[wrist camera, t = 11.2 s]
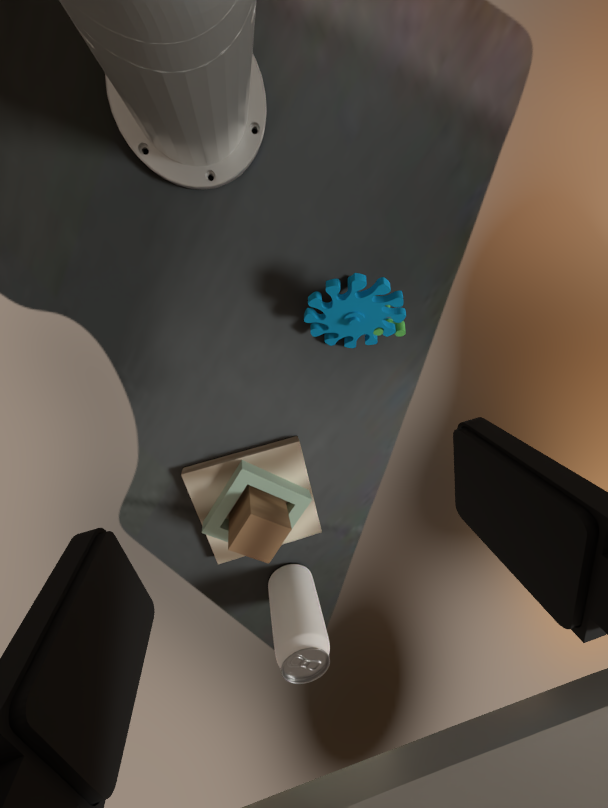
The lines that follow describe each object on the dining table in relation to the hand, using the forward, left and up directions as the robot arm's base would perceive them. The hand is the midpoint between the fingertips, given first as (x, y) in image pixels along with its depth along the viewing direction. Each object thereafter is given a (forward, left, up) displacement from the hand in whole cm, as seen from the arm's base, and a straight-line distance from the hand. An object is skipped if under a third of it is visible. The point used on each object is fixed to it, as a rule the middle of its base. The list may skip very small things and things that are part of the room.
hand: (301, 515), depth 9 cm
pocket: (+20, -5, -28) cm, 35 cm away
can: (+35, -4, -30) cm, 46 cm away
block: (+20, -5, -28) cm, 35 cm away
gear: (0, +11, -30) cm, 32 cm away
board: (+20, -5, -30) cm, 36 cm away
